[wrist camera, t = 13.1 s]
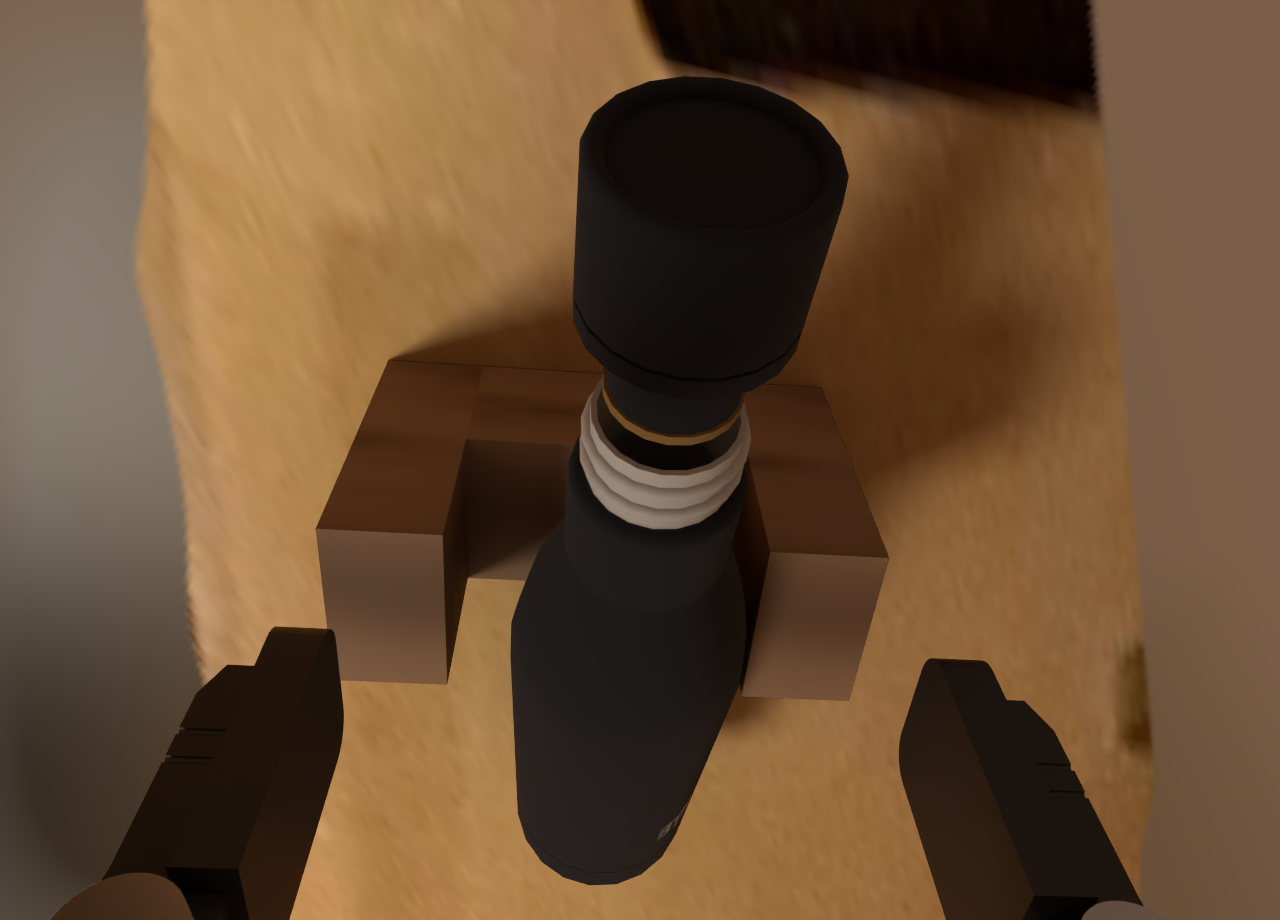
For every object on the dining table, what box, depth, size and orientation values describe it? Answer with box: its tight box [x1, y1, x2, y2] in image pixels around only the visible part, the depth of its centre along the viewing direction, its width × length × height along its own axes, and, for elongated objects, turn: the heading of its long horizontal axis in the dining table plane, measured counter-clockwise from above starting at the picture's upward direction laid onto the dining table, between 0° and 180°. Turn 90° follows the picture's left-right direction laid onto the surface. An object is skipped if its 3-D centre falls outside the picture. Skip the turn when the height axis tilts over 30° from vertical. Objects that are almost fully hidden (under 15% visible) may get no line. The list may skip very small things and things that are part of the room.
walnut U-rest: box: [316, 360, 889, 701], centre depth 29 cm, size 5×14×9 cm, turn 85°
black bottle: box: [511, 76, 849, 885], centre depth 26 cm, size 6×6×30 cm
